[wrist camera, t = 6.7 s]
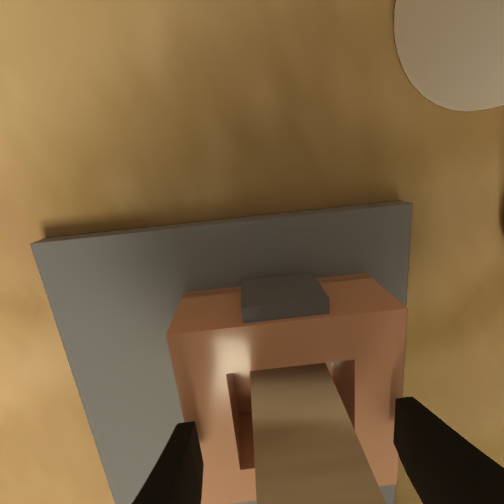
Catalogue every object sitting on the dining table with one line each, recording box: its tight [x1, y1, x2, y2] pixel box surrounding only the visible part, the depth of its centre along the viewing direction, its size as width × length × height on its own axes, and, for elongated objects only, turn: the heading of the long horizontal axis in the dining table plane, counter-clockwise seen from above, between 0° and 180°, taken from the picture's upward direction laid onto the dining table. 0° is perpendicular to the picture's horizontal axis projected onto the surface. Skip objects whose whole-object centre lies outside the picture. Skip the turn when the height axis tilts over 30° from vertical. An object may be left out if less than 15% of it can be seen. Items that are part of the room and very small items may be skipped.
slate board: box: [30, 201, 412, 504], centre depth 16 cm, size 22×16×1 cm
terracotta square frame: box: [166, 273, 408, 504], centre depth 13 cm, size 9×8×3 cm
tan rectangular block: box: [250, 363, 386, 504], centre depth 10 cm, size 3×3×9 cm
